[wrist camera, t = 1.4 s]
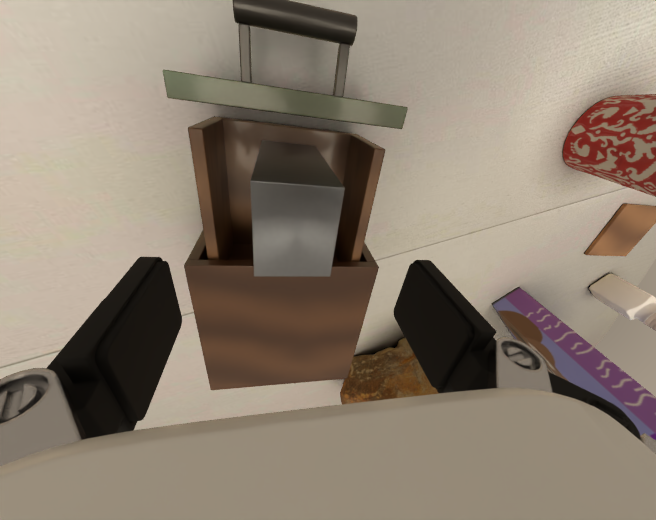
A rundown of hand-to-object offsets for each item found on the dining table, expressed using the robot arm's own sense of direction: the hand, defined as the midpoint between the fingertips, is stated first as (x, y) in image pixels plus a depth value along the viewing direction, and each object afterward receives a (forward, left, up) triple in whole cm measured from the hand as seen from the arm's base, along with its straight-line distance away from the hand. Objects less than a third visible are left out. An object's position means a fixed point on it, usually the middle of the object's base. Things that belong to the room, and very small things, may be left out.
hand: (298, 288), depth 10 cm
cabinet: (+12, 0, -18) cm, 22 cm away
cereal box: (+22, +42, -18) cm, 51 cm away
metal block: (0, 0, -16) cm, 16 cm away
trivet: (+4, +49, -18) cm, 52 cm away
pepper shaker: (+14, +54, -18) cm, 59 cm away
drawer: (-2, 0, -17) cm, 17 cm away
